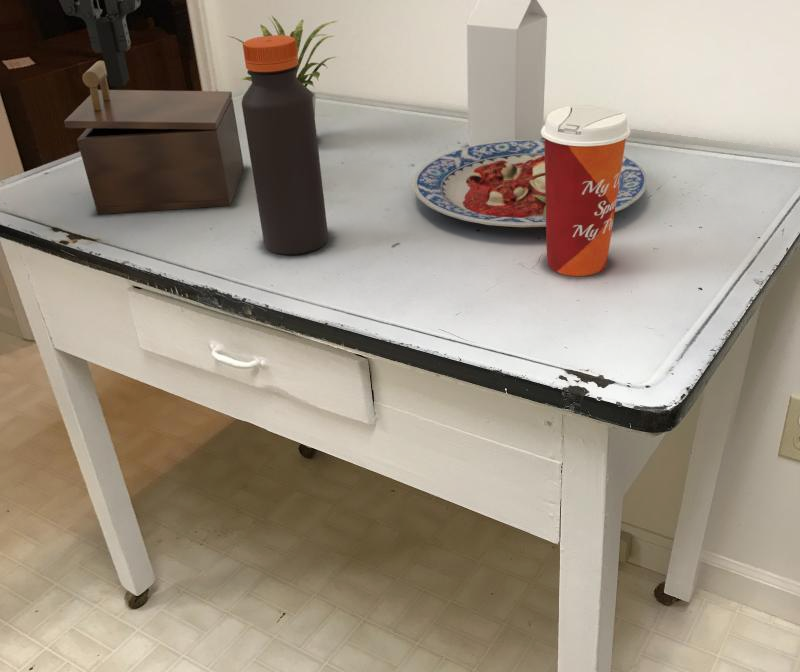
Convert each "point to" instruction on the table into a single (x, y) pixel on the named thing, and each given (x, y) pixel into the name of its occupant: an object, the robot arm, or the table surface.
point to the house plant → (297, 36)
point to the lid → (146, 107)
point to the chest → (162, 167)
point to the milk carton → (506, 71)
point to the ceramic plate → (503, 183)
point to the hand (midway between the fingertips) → (119, 82)
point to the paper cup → (582, 185)
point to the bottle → (283, 147)
